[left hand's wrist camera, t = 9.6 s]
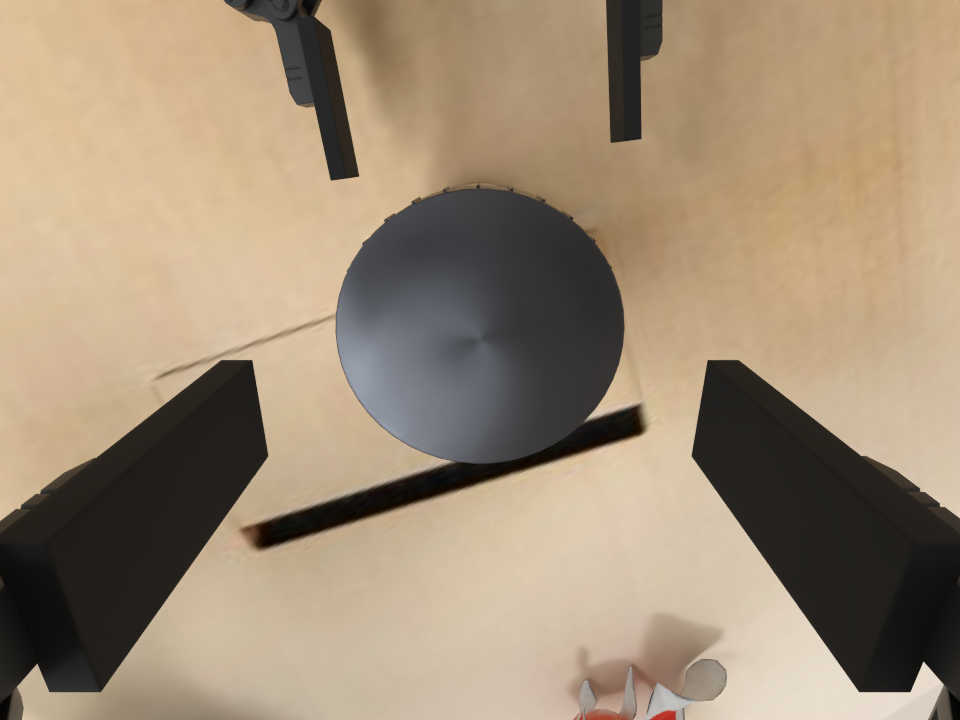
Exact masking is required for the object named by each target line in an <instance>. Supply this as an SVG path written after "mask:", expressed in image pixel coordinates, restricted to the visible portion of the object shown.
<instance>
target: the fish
mask: <svg viewBox="0 0 960 720" xmlns="http://www.w3.org/2000/svg"><path fill="white" fill-rule="evenodd" d="M726 679H727V675H726V669H725V668H724V667H723V666H722V665H721V664H720V663H719V662H718V661H717V660H712V659H700V660H699V661H697V662H696V663H694V664H693V665H692V666H691V667H690V668H689V669H687V670H686V675H685V682H684V687H683V690H682V692H681V694H680V695H678V694H676V693H673V692H671V691H670V690H668V689H667V688H665V687H664V686H662V685H661V684H659V683H657V685H656V687H655V689H654V691H653V693H652V695H651V698H650V702H649V706H648V710H647V714H646V716H645V718H644V720H685V717H684V707H686V706H688V705H690V704H692V703H695V702H700V701H707V700H714V699H715V698H716V697H717V696H718V695H719V694H720V693H721V692H722V691H723V689H724V688H725V686H726ZM596 701H597V700H596V696H595V694H594V692H593V690H592V688H591V686H590V683H589V681H588V680H585V681H584V682H583V685H582V688H581V691H580V695H579V705H580V713H579V714H577V716H576V717H575V718H574V719H573V720H633V719H634V717H635V715H636V711H637V705H636V697H635V690H634V681H633V670H632V666H630V668H629V673H628V677H627V681H626V686H625V694H624V702H623V707H622V710H621V712H620V713H619V714H617V713H615V712H613V711H610V710H605V709H596V710H594V709H595V706H596Z"/></svg>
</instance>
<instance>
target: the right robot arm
mask: <svg viewBox="0 0 960 720" xmlns="http://www.w3.org/2000/svg"><path fill="white" fill-rule="evenodd" d="M224 1H225V2H226V3H227V4H228V5H230V6H231V7H233V8H234V9H236V10H237V11H239V12H241V13H242V14H244V15H246V16H247V17H249V18H251V19H253V20H254V21H264V22H268V23H271V24H272V25H273V27H274V29H275V31H276V34H277V39H278V43H279V48H280V52H281V56H282V61H283V65H284V68H285V74H286V78H287V82H288V87H289V91H290V94H291V96H292V97H293V99H294V101H295V102H296V104H297V105H299V106H303V107H306V108H307V107H314V106H315V109H316V114H317V119H318V123H319V128H320V133H321V137H322V142H323V146H324V151H325V156H326V160H327V165H328V170H329V174H330V179H331V180H339V179H346V178H353V177H359V173H358V168H357V163H356V158H355V153H354V148H353V143H352V137H351V132H350V127H349V122H348V117H347V112H346V107H345V102H344V97H343V92H342V87H341V82H340V76H339V71H338V66H337V61H336V56H335V51H334V46H333V41H332V36H331V31H330V30H329V29H328V28H327V27H326V26H325V25H323V24H322V23H321V22H320V21H319V20H318V19H316V18H315V17H314V16H315V14H316V12H317V10H318V7H319V5H320V3H321V1H322V0H224ZM606 10H607V42H608V73H609V104H610V135H611V143H614V142H622V141H630V140H637V139H641V76H640V61H643V60H649V59H650V58H652V57H654V56H655V55H657V54H658V52H659V49H660V46H661V43H662V0H606Z"/></svg>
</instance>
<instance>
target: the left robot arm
mask: <svg viewBox="0 0 960 720" xmlns="http://www.w3.org/2000/svg"><path fill="white" fill-rule="evenodd" d="M267 457H268V451H267V445H266V439H265V433H264V427H263V421H262V415H261V409H260V403H259V398H258V392H257V386H256V380H255V374H254V368H253V362H252V360H221V361H220V362H219V363H217V364H216V365H215V366H213V367H212V368H211V369H210V370H208V371H207V372H206V373H204V374H203V375H202V376H201V377H199V378H198V379H197V380H196V381H194V382H193V383H192V384H190V385H189V386H188V387H187V388H185V389H184V390H183V391H181V392H180V393H179V394H178V395H176V396H175V397H174V398H172V399H171V400H170V401H169V402H167V403H166V404H165V405H164V406H162V407H161V408H160V409H158V410H157V411H156V412H155V413H153V414H152V415H151V416H149V417H148V418H147V419H146V420H144V421H143V422H142V423H141V424H139V425H138V426H137V427H135V428H134V429H133V430H132V431H130V432H129V433H128V434H126V435H125V436H124V437H123V438H121V439H120V440H119V441H117V442H116V443H115V444H114V445H112V446H111V447H110V448H109V449H107V450H106V451H105V452H103V453H102V454H101V455H100V456H98V457H97V458H93V459H91V460H89V461H87V462H85V463H83V464H81V465H79V466H77V467H75V468H73V469H71V470H69V471H67V472H65V473H63V474H62V475H61V476H59V477H58V478H57V479H55V480H54V481H53V482H51V483H50V484H49V485H47V486H46V487H45V488H43V489H42V490H41V493H40V494H36V495H34V496H33V497H32V498H30V499H29V500H28V501H26V502H25V503H24V504H22V505H21V509H16V510H14V511H13V512H12V513H10V514H9V515H8V516H6V517H5V518H4V519H2V520H1V521H0V720H22V715H23V703H22V697H21V695H20V693H19V690H18V688H17V686H18V685H19V684H20V683H21V681H22V680H23V679H24V678H25V677H26V676H27V675H28V673H29V672H30V671H31V670H32V669H33V668H34V667H35V665H36V664H38V666H39V668H40V671H41V673H42V675H43V678H44V680H45V682H46V685H47V687H48V690H49V692H101V691H102V690H103V688H104V687H105V685H106V684H107V683H108V681H109V680H110V678H111V677H112V676H113V674H114V673H115V671H116V670H117V669H118V667H119V666H120V664H121V663H122V661H123V660H124V659H125V657H126V656H127V654H128V653H129V652H130V650H131V649H132V647H133V646H134V645H135V643H136V642H137V640H138V639H139V638H140V636H141V635H142V633H143V632H144V630H145V629H146V628H147V626H148V625H149V623H150V622H151V621H152V619H153V618H154V616H155V615H156V614H157V612H158V611H159V609H160V608H161V607H162V605H163V604H164V602H165V601H166V600H167V598H168V597H169V595H170V594H171V592H172V591H173V590H174V588H175V587H176V585H177V584H178V583H179V581H180V580H181V578H182V577H183V576H184V574H185V573H186V571H187V570H188V569H189V567H190V566H191V564H192V563H193V561H194V560H195V559H196V557H197V556H198V554H199V553H200V552H201V550H202V549H203V547H204V546H205V545H206V543H207V542H208V540H209V539H210V538H211V536H212V535H213V533H214V532H215V531H216V529H217V528H218V526H219V525H220V523H221V522H222V521H223V519H224V518H225V516H226V515H227V514H228V512H229V511H230V509H231V508H232V507H233V505H234V504H235V502H236V501H237V500H238V498H239V497H240V495H241V494H242V493H243V491H244V490H245V488H246V487H247V485H248V484H249V483H250V481H251V480H252V478H253V477H254V476H255V474H256V473H257V471H258V470H259V469H260V467H261V466H262V464H263V463H264V462H265V460H266V459H267ZM692 457H693V459H694V460H695V462H696V463H697V464H698V466H699V467H700V469H701V470H702V471H703V473H704V474H705V476H706V477H707V478H708V480H709V481H710V483H711V484H712V485H713V487H714V488H715V490H716V491H717V493H718V494H719V495H720V497H721V498H722V500H723V501H724V502H725V504H726V505H727V507H728V508H729V509H730V511H731V512H732V514H733V515H734V516H735V518H736V519H737V521H738V522H739V523H740V525H741V526H742V528H743V529H744V531H745V532H746V533H747V535H748V536H749V538H750V539H751V540H752V542H753V543H754V545H755V546H756V547H757V549H758V550H759V552H760V553H761V554H762V556H763V557H764V559H765V560H766V561H767V563H768V564H769V566H770V567H771V569H772V570H773V571H774V573H775V574H776V576H777V577H778V578H779V580H780V581H781V583H782V584H783V585H784V587H785V588H786V590H787V591H788V592H789V594H790V595H791V597H792V598H793V600H794V601H795V602H796V604H797V605H798V607H799V608H800V609H801V611H802V612H803V614H804V615H805V616H806V618H807V619H808V621H809V622H810V623H811V625H812V626H813V628H814V629H815V630H816V632H817V633H818V635H819V636H820V638H821V639H822V640H823V642H824V643H825V645H826V646H827V647H828V649H829V650H830V652H831V653H832V654H833V656H834V657H835V659H836V660H837V661H838V663H839V664H840V666H841V667H842V669H843V670H844V671H845V673H846V674H847V676H848V677H849V678H850V680H851V681H852V683H853V684H854V685H855V687H856V688H857V690H858V691H859V692H911V690H912V687H913V685H914V682H915V680H916V678H917V675H918V673H919V671H920V668H921V666H922V664H923V661H924V662H925V664H926V665H927V666H928V667H929V668H930V669H931V670H932V671H933V673H934V674H935V675H936V676H937V677H938V678H939V679H940V681H941V682H942V683H943V684H944V686H943V688H942V690H941V693H940V695H939V697H938V699H937V701H936V704H935V706H934V708H933V710H932V712H931V715H930V717H929V719H928V720H960V518H959V517H957V516H956V515H955V514H953V513H952V512H951V511H949V510H948V509H947V508H945V507H940V503H939V502H937V501H936V500H935V499H933V498H932V497H931V496H929V495H928V494H927V493H925V492H920V488H919V487H917V486H916V485H915V484H913V483H912V482H911V481H909V480H908V479H907V478H905V477H904V476H903V475H901V474H900V473H899V472H897V471H896V470H893V469H891V468H889V467H887V466H885V465H883V464H881V463H879V462H877V461H875V460H873V459H871V458H869V457H867V456H860V455H859V454H858V453H857V452H855V451H854V450H853V449H851V448H850V447H849V446H848V445H846V444H845V443H844V442H843V441H841V440H840V439H839V438H837V437H836V436H835V435H834V434H832V433H831V432H830V431H828V430H827V429H826V428H825V427H823V426H822V425H821V424H819V423H818V422H817V421H816V420H814V419H813V418H812V417H811V416H809V415H808V414H807V413H805V412H804V411H803V410H802V409H800V408H799V407H798V406H796V405H795V404H794V403H793V402H791V401H790V400H789V399H788V398H786V397H785V396H784V395H782V394H781V393H780V392H779V391H777V390H776V389H775V388H773V387H772V386H771V385H770V384H768V383H767V382H766V381H764V380H763V379H762V378H761V377H759V376H758V375H757V374H756V373H754V372H753V371H752V370H750V369H749V368H748V367H747V366H745V365H744V364H743V363H741V362H740V361H739V360H708V362H707V368H706V374H705V380H704V386H703V392H702V398H701V403H700V409H699V415H698V421H697V427H696V433H695V439H694V445H693V451H692Z"/></svg>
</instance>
